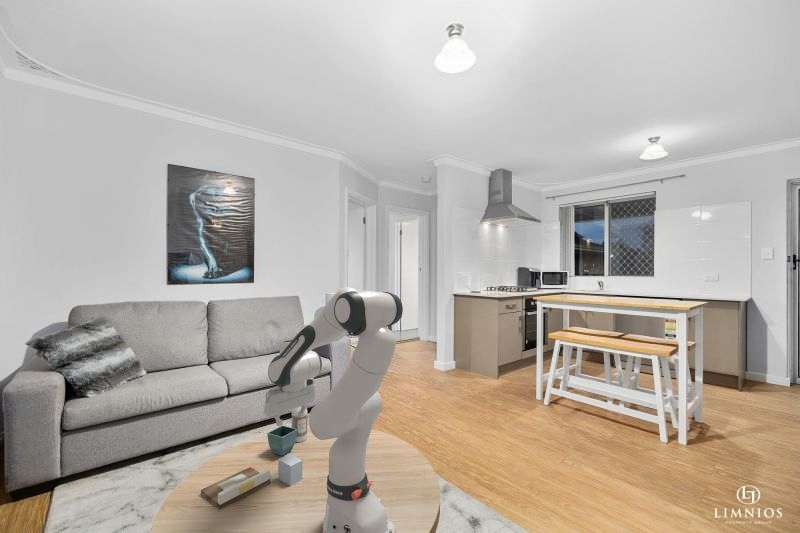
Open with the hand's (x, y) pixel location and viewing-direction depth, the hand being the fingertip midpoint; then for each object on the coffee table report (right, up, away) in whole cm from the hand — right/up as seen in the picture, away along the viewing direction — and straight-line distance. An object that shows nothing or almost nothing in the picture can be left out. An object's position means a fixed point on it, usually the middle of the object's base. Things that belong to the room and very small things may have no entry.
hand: (290, 420), depth 132 cm
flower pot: (-9, -22, +19) cm, 30 cm away
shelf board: (-17, -21, -6) cm, 28 cm away
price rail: (-12, -19, -10) cm, 25 cm away
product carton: (0, -21, 0) cm, 21 cm away
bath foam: (-5, -22, +31) cm, 38 cm away
